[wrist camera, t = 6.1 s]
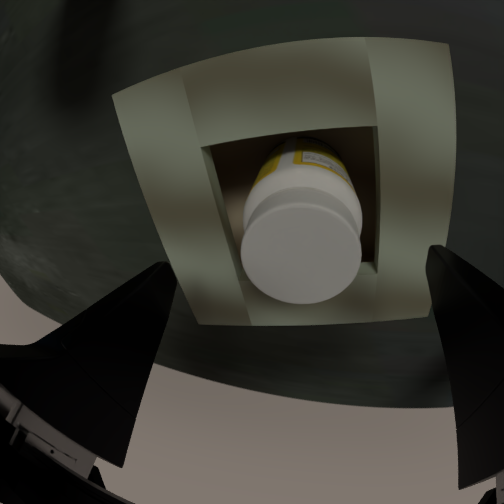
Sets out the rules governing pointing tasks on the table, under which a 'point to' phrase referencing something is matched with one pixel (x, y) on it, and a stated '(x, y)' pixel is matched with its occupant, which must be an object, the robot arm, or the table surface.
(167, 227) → the drop box
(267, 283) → the supplement bottle
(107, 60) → the table surface
